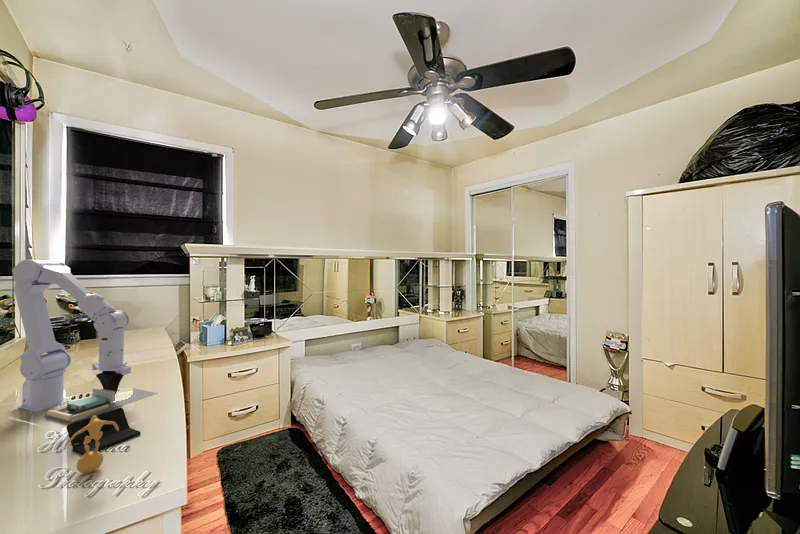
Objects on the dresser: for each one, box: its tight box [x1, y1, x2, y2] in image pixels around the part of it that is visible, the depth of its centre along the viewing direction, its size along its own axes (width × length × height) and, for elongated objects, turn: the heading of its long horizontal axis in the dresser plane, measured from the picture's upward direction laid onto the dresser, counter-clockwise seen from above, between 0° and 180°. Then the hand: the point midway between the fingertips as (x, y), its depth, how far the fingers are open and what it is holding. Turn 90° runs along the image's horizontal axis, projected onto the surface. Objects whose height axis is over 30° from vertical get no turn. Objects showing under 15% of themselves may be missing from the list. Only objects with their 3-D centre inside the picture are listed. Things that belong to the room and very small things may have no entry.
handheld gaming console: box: [66, 407, 141, 457], centre depth 79 cm, size 12×7×10 cm
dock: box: [44, 388, 158, 424], centre depth 99 cm, size 12×22×2 cm, turn 161°
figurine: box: [64, 415, 119, 474], centre depth 66 cm, size 8×6×12 cm
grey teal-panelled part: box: [66, 387, 117, 413], centre depth 95 cm, size 9×8×4 cm
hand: (110, 395), depth 100 cm, fingers closed
